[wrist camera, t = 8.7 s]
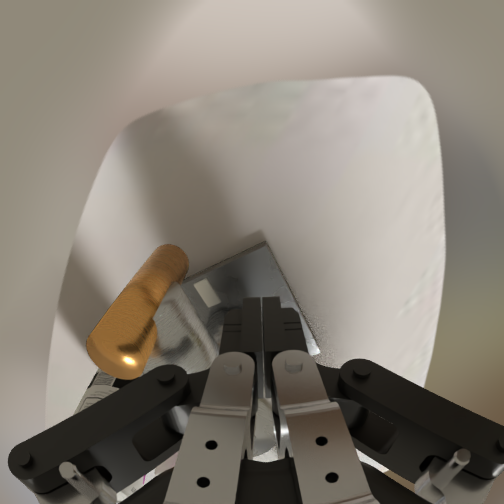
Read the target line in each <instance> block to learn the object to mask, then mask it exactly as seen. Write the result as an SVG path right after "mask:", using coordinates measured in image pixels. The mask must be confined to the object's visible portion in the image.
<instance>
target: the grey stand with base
mask: <svg viewBox="0 0 504 504" xmlns="http://www.w3.org/2000/svg"><path fill="white" fill-rule="evenodd" d="M181 288H182V289H183V291H184V293H185V294H186V296H187V297H188V299H189V301H190V302H191V304H192V305H193V307H194V308H195V310H196V312H197V313H198V315H199V316H200V318H201V319H202V321H203V322H204V324H205V325H206V327H207V328H208V330H209V331H210V333H211V334H212V336H213V337H214V339H215V340H216V342H217V343H218V345H219V346H220V343H221V337H222V330H223V324H224V317H225V315H226V314H227V313H228V312H229V311H230V310H231V309H242V308H243V297H261V320H262V297H272V296H279V297H280V303H281V308H290V307H293V308H294V309H295V310H296V311H297V312H298V313H299V315H300V319H301V323H302V327H303V332H304V336H305V340H306V344H307V348H308V353H309V354H310V355H311V356H314V355H316V354H318V353H320V349H319V346H318V344H317V342H316V340H315V338H314V336H313V334H312V332H311V330H310V328H309V326H308V324H307V322H306V320H305V318H304V316H303V314H302V312H301V310H300V308H299V306H298V304H297V302H296V300H295V298H294V296H293V294H292V292H291V290H290V288H289V286H288V284H287V282H286V280H285V278H284V276H283V274H282V272H281V270H280V268H279V266H278V264H277V262H276V260H275V258H274V256H273V254H272V252H271V250H270V248H269V246H268V244H267V242H266V241H265V242H263V243H261V244H259V245H256V246H254V247H252V248H250V249H248V250H246V251H244V252H242V253H239V254H237V255H235V256H233V257H231V258H229V259H227V260H224V261H222V262H220V263H218V264H216V265H214V266H212V267H210V268H207V269H205V270H203V271H201V272H199V273H197V274H195V275H193V276H190V277H188V278H186V279H184V280H183V282H182V284H181ZM262 345H263V320H262ZM263 371H264V352H263Z"/></svg>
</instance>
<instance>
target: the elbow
mask: <svg viewBox="0 0 504 504" xmlns="http://www.w3.org/2000/svg"><path fill="white" fill-rule="evenodd" d="M188 268H189V261H188V257H187V255H186V254H185V252H184V251H183V250H182V249H180V248H179V247H177V246H175V245H171V244H165V245H161V246H159V247H158V248H157V249H156V250H155V251H154V252H153V253H152V254H151V256H150V257H149V258H148V259H147V261H146V262H145V263H144V264H143V265H142V267H141V268H140V269H139V270H138V272H137V273H136V274H135V275H134V277H133V278H132V279H131V280H130V282H129V283H128V284H127V286H126V287H125V288H124V289H123V291H122V292H121V293H120V295H119V296H118V297H117V299H116V300H115V301H114V303H113V304H112V305H111V306H110V308H109V309H108V310H107V312H106V313H105V315H104V316H103V317H102V319H101V320H100V321H99V323H98V324H97V325H96V327H95V328H94V330H93V331H92V332H91V334H90V335H89V337H88V339H87V342H86V347H87V351H88V354H89V356H90V358H91V359H92V361H93V362H94V363H95V364H96V365H97V366H98V367H99V368H100V369H101V370H102V371H104V372H105V373H107V374H109V375H111V376H113V377H116V378H119V379H125V380H130V379H135V378H137V377H139V376H140V375H141V374H142V373H143V374H146V373H147V372H149V371H150V370H152V369H154V368H156V367H158V366H161V365H166V364H173V365H178V366H180V367H182V368H183V369H185V371H186V372H187V374H191V373H196V372H200V371H204V370H206V369H208V368H210V367H211V365H212V362H213V361H214V359H215V358H216V357H218V356H219V350H220V346H219V345H218V343H217V342H216V340H215V339H214V337H213V336H212V334H211V333H210V331H209V330H208V328H207V327H206V325H205V324H204V322H203V321H202V319H201V318H200V316H199V315H198V313H197V312H196V310H195V308H194V307H193V305H192V304H191V302H190V301H189V299H188V297H187V296H186V294H185V293H184V291H183V289H182V288H181V284H182V282H183V280H184V278H185V276H186V273H187V271H188ZM263 394H264V398H263V399H258V411H257V419H256V429H255V440H254V450H253V457H256V456H259V455H261V454H263V453H265V452H267V451H269V450H270V449H271V448H272V447H273V446H274V445H275V444H276V440H275V434H274V428H273V422H272V403H271V398H265V375H264V371H263Z"/></svg>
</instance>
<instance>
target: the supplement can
mask: <svg viewBox="0 0 504 504" xmlns="http://www.w3.org/2000/svg"><path fill="white" fill-rule="evenodd" d="M142 375H144V374H143V373H142V374H141V375H140V376H139V377H141V376H142ZM139 377H137V378H139ZM137 378H135V379H130V380H125V379H119V378H116V377H113V376H111V375H109V374H107V373H105V372H104V371H102V370H101V369H100V368H99V369H98V370H97V372H96V374H95V376H94V377H93V379H92V381H91V383H90V385H89V386H88V388H87V390H86V392H85V394H84V396H83V398H82V399H81V401H80V403H79V405H78V407H77V409H76V411H75V413H74V415H75V414H77V413H79V412H80V411H82V410H84V409H86V408H87V407H89V406H91V405H93V404H95V403H96V402H98V401H100V400H102V399H103V398H105V397H107V396H108V395H110V394H112V393H114V392H115V391H117V390H119V389H120V388H122V387H124V386H126V385H127V384H129V383H131V382H132V381H134V380H136V379H137ZM145 476H146V475H144V476H143V477H141V478H140V479H138V480H137V481H135V482H134V483H132V484H131V485H129V486H128V487H126V488H125V489H123V490H122V491H120V492H118V493H117V494H116V495H117V502H116V503H120V502H121V501H123V500H124V499H126V498H127V497H129V496H130V495H131V494H133V493H134V492H136V491H137V490H138V489H140V488H141V487H143V484H144V480H145Z"/></svg>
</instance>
